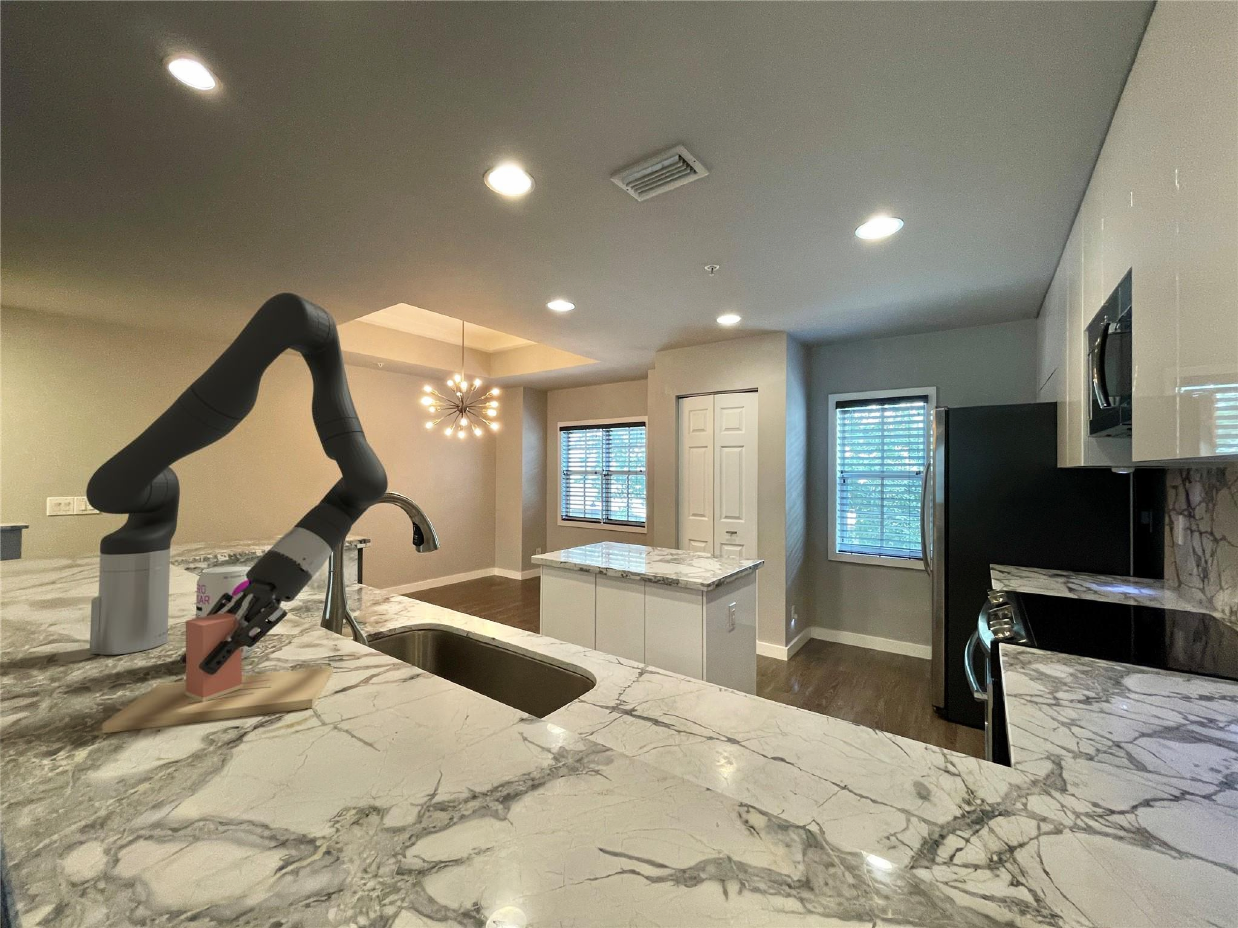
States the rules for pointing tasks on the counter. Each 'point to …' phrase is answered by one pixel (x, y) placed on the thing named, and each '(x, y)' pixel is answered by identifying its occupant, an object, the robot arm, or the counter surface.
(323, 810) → the counter surface
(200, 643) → the block
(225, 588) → the supplement can
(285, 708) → the oak board
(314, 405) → the robot arm
